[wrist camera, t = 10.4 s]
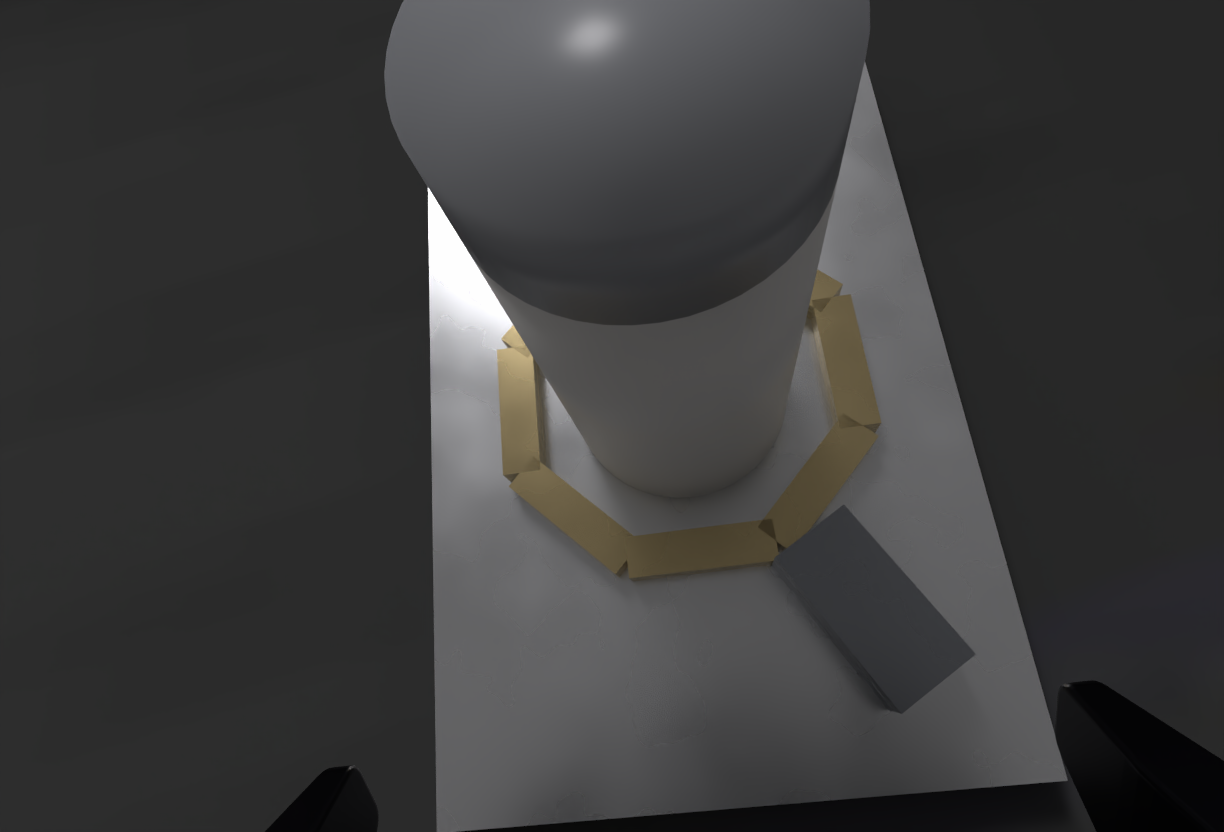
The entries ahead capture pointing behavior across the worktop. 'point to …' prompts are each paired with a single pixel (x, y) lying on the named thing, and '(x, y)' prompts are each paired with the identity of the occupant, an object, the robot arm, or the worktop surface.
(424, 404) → the worktop surface
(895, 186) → the shaft mount
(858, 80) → the domed cap cylinder
